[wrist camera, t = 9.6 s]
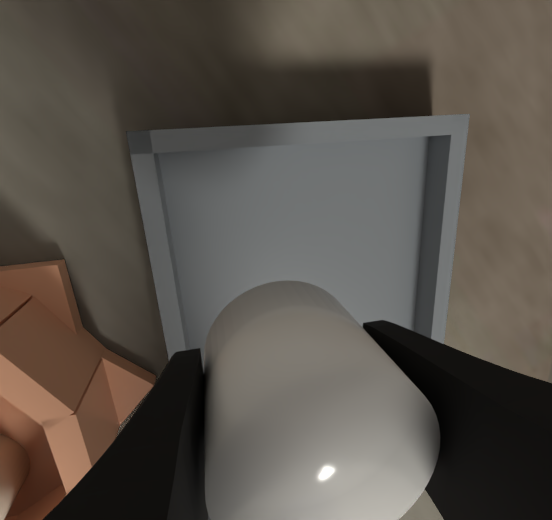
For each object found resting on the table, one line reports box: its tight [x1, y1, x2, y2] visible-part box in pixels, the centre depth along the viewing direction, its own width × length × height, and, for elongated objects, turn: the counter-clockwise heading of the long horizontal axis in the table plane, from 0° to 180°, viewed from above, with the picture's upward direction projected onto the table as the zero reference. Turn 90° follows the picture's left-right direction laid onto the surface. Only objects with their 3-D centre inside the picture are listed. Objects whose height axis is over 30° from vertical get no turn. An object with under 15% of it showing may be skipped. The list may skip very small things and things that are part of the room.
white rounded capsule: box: [204, 280, 440, 520], centre depth 8 cm, size 4×4×4 cm
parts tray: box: [126, 114, 470, 520], centre depth 18 cm, size 20×14×2 cm
